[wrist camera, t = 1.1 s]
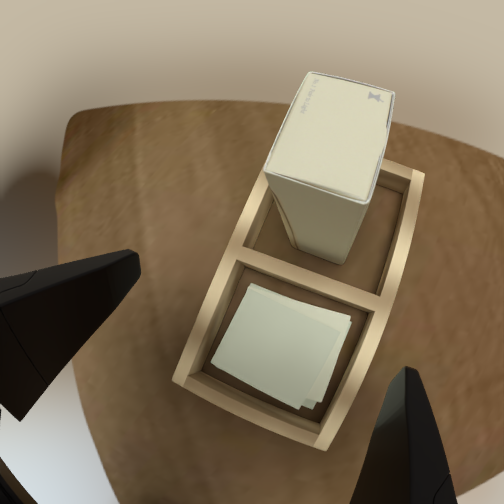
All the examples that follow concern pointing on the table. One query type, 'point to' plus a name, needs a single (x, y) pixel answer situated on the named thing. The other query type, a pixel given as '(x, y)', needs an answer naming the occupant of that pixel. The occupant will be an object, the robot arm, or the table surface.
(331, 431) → the tray
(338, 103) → the skincare box
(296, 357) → the offcut stack
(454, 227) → the table surface
